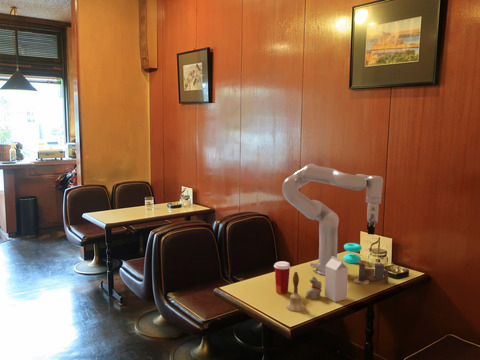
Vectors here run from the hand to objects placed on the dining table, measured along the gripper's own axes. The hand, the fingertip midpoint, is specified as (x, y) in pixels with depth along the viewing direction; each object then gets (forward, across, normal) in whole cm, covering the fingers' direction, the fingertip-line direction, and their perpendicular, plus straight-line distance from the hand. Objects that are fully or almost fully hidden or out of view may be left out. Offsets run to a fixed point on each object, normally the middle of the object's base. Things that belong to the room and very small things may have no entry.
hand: (370, 231), depth 201 cm
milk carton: (+25, -32, +15) cm, 43 cm away
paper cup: (+26, -32, +40) cm, 57 cm away
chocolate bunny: (+25, -33, +25) cm, 49 cm away
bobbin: (+24, -9, +3) cm, 26 cm away
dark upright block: (+22, -6, -6) cm, 23 cm away
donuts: (+25, +22, +7) cm, 34 cm away
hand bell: (+26, -47, +31) cm, 62 cm away
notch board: (+24, -6, -3) cm, 25 cm away
